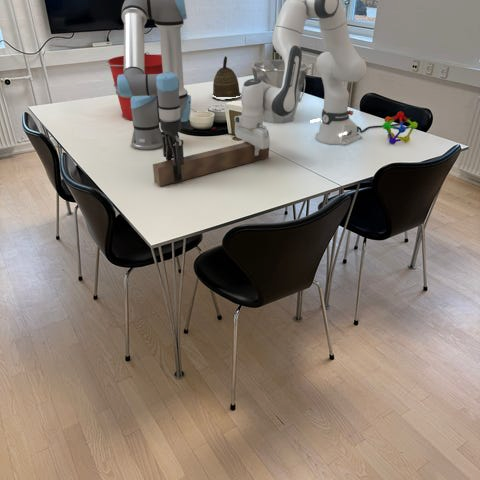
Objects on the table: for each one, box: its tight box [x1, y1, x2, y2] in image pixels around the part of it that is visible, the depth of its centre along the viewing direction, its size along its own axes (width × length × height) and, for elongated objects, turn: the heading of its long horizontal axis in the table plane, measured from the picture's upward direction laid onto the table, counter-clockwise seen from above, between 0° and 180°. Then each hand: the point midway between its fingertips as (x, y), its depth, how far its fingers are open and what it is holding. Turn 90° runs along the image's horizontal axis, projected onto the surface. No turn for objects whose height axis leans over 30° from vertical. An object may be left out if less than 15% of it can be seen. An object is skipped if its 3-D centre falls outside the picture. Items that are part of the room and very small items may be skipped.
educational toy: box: [382, 110, 418, 145], centre depth 207 cm, size 16×13×15 cm
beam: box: [152, 142, 270, 187], centre depth 180 cm, size 52×5×7 cm, turn 125°
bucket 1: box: [104, 51, 163, 121], centre depth 240 cm, size 35×35×30 cm
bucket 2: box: [251, 59, 309, 124], centre depth 236 cm, size 30×30×28 cm
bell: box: [212, 56, 242, 97], centre depth 278 cm, size 19×26×20 cm
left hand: (175, 178), depth 172 cm, fingers closed on beam, 5 cm apart
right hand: (251, 152), depth 189 cm, fingers closed on beam, 4 cm apart
